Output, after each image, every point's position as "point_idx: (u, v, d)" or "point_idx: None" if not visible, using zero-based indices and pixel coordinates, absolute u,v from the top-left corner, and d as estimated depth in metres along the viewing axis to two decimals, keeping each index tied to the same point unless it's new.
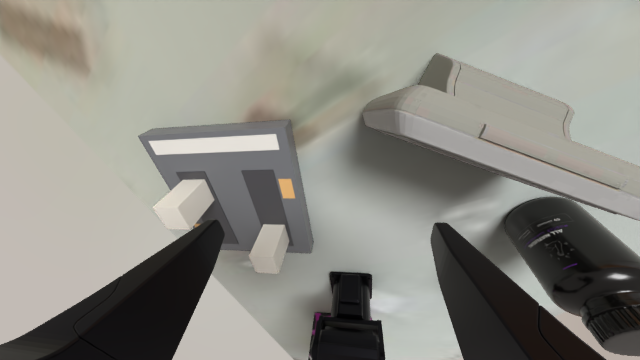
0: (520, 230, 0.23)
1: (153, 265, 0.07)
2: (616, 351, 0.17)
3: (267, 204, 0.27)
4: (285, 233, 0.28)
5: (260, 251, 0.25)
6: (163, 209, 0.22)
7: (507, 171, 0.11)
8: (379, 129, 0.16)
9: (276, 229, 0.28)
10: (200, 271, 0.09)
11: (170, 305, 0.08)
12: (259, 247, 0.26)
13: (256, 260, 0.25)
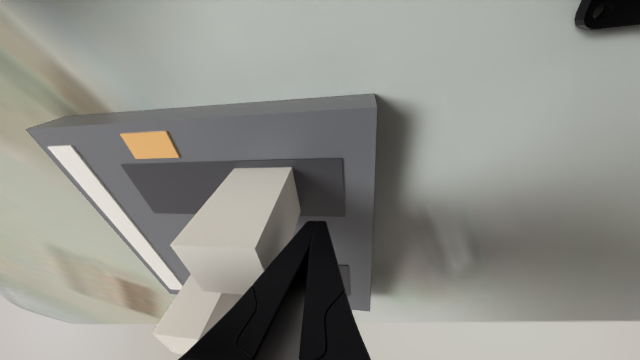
0: None
1: (282, 272, 0.07)
2: None
3: (213, 190, 0.13)
4: (248, 173, 0.11)
5: None
6: (169, 346, 0.14)
7: None
8: None
9: None
10: None
11: (296, 317, 0.07)
12: None
13: (211, 282, 0.09)
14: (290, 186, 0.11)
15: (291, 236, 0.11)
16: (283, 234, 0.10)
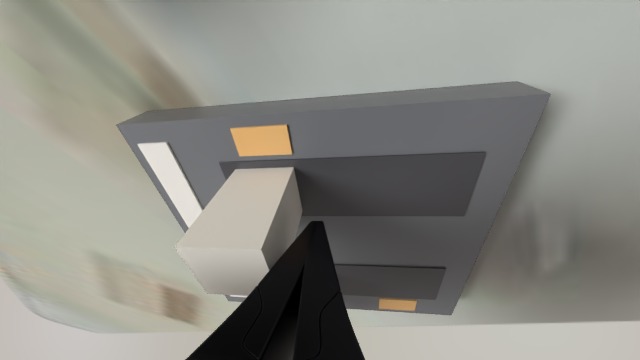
0: None
1: (287, 273, 0.07)
2: None
3: (318, 190, 0.12)
4: (250, 174, 0.11)
5: None
6: None
7: None
8: None
9: None
10: None
11: None
12: None
13: (216, 284, 0.08)
14: (292, 186, 0.11)
15: (294, 236, 0.11)
16: (287, 235, 0.10)
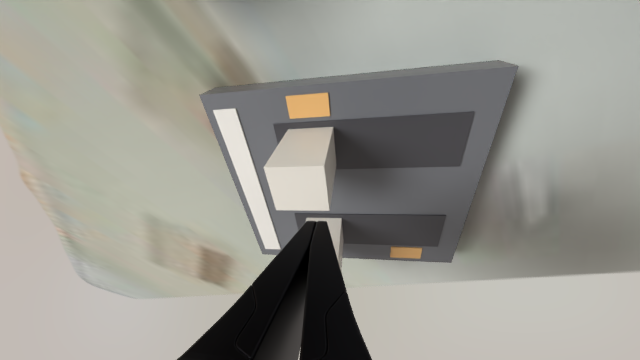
0: None
1: (281, 272, 0.07)
2: None
3: (347, 146, 0.15)
4: (300, 131, 0.14)
5: None
6: None
7: None
8: None
9: None
10: None
11: (295, 317, 0.07)
12: None
13: (285, 200, 0.12)
14: (333, 140, 0.14)
15: (333, 178, 0.14)
16: (331, 172, 0.13)
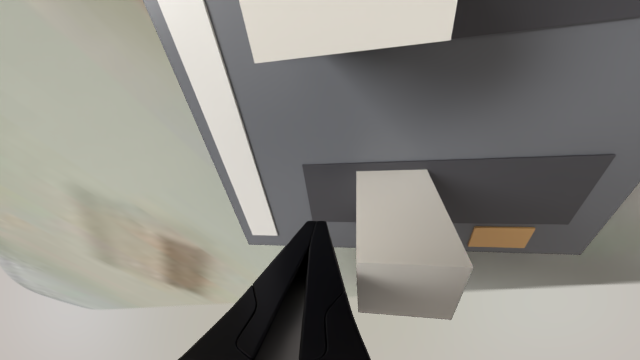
0: None
1: (282, 272, 0.07)
2: None
3: None
4: None
5: None
6: (367, 295, 0.07)
7: None
8: None
9: None
10: None
11: (296, 317, 0.07)
12: None
13: (284, 2, 0.03)
14: None
15: None
16: None
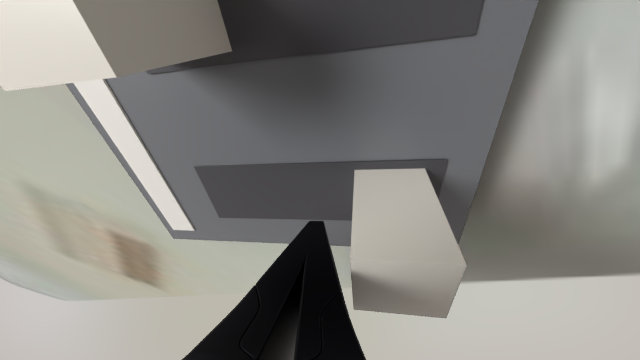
0: None
1: (285, 273, 0.07)
2: None
3: (243, 2, 0.07)
4: None
5: None
6: (361, 292, 0.07)
7: None
8: None
9: None
10: None
11: (299, 317, 0.07)
12: None
13: None
14: None
15: (197, 51, 0.07)
16: (164, 10, 0.05)
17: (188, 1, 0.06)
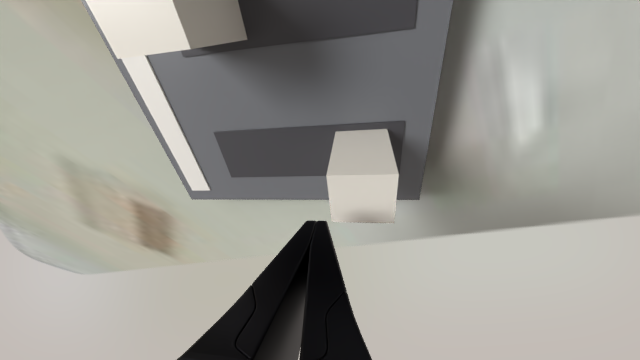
0: None
1: (281, 273, 0.07)
2: None
3: (256, 5, 0.11)
4: None
5: None
6: (336, 204, 0.11)
7: None
8: None
9: None
10: None
11: (295, 317, 0.07)
12: None
13: (120, 32, 0.08)
14: None
15: (228, 37, 0.10)
16: (210, 10, 0.09)
17: (222, 4, 0.09)
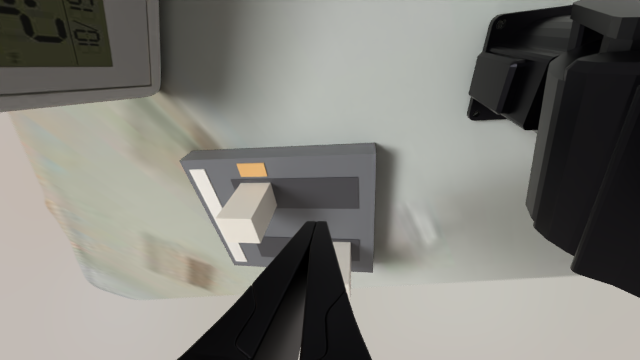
0: None
1: (281, 272, 0.07)
2: None
3: (282, 194, 0.22)
4: (248, 185, 0.21)
5: None
6: None
7: None
8: (92, 94, 0.15)
9: None
10: None
11: (295, 317, 0.07)
12: None
13: (231, 236, 0.19)
14: (269, 192, 0.21)
15: (270, 217, 0.21)
16: (265, 216, 0.20)
17: (268, 205, 0.21)
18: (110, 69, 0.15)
